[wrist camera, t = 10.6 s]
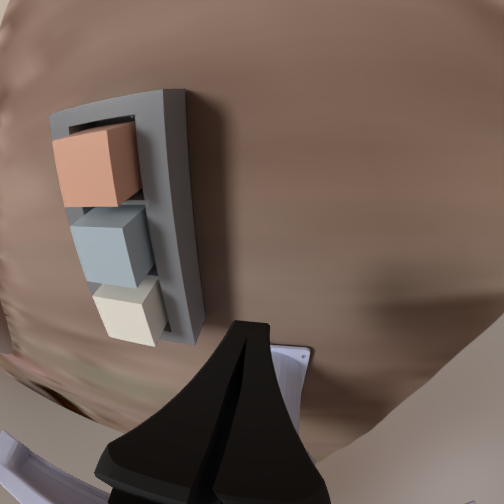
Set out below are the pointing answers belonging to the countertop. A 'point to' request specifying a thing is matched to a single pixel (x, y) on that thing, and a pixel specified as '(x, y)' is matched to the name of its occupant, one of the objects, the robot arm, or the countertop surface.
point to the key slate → (114, 245)
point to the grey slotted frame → (155, 195)
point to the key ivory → (133, 311)
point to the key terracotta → (98, 165)
